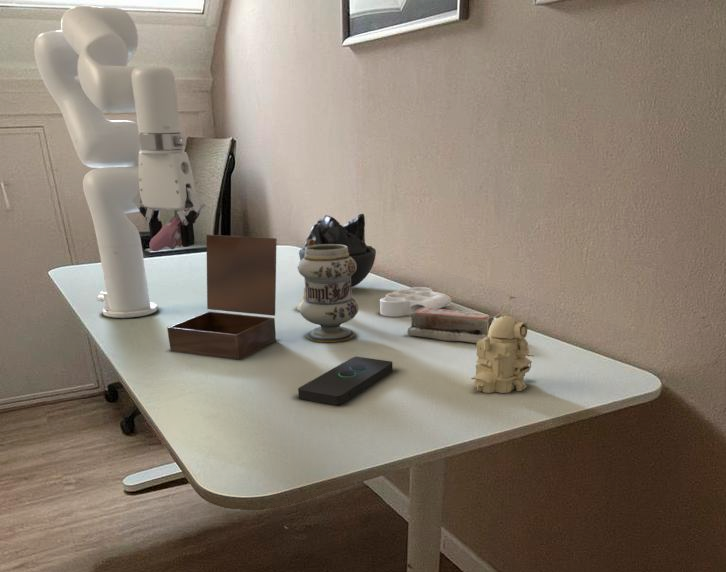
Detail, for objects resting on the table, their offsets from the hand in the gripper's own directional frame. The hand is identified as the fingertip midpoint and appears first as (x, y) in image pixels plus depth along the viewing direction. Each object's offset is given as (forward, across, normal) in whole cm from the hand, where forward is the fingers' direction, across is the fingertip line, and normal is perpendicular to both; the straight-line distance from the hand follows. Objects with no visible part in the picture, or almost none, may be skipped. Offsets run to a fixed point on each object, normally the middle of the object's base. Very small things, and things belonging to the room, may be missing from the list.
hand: (173, 243), depth 140 cm
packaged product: (+18, -52, -22) cm, 59 cm away
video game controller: (+1, 0, 0) cm, 1 cm away
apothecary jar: (+19, -28, -12) cm, 36 cm away
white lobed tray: (+19, -36, -40) cm, 57 cm away
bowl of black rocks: (+20, -11, -54) cm, 59 cm away
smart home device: (+18, -44, +14) cm, 50 cm away
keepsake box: (+19, -11, +2) cm, 22 cm away
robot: (+17, -69, +6) cm, 71 cm away
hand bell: (+19, -14, -32) cm, 40 cm away
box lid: (+6, -11, -6) cm, 14 cm away
